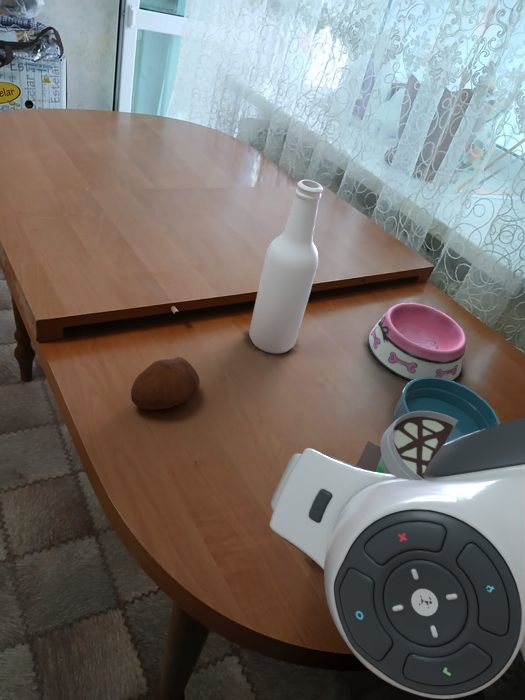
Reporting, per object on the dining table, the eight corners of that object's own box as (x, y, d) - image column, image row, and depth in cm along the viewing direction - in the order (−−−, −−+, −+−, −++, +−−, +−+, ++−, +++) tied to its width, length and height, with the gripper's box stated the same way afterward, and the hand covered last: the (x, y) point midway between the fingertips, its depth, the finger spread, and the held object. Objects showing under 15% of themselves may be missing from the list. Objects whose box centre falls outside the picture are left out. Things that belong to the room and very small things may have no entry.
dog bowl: (472, 392, 99) (488, 364, 95) (374, 377, 97) (387, 347, 93) (446, 333, 114) (460, 306, 110) (361, 318, 112) (371, 290, 108)
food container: (382, 448, 70) (409, 391, 63) (426, 474, 67) (459, 417, 61) (341, 511, 61) (368, 451, 55) (390, 542, 59) (424, 485, 52)
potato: (211, 399, 85) (218, 361, 80) (152, 433, 77) (156, 393, 72) (179, 373, 88) (183, 334, 83) (120, 403, 81) (121, 362, 76)
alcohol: (238, 332, 100) (270, 174, 82) (275, 321, 105) (313, 170, 87) (267, 360, 95) (307, 199, 77) (304, 348, 100) (350, 193, 82)
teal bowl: (493, 422, 94) (505, 403, 91) (481, 484, 82) (494, 465, 79) (406, 383, 98) (415, 364, 95) (381, 437, 86) (391, 417, 83)
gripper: (577, 581, 34) (518, 549, 47) (287, 436, 39) (306, 444, 53) (538, 677, 33) (489, 617, 47) (248, 517, 39) (278, 504, 52)
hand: (391, 525), depth 50 cm, fingers open, 8 cm apart
